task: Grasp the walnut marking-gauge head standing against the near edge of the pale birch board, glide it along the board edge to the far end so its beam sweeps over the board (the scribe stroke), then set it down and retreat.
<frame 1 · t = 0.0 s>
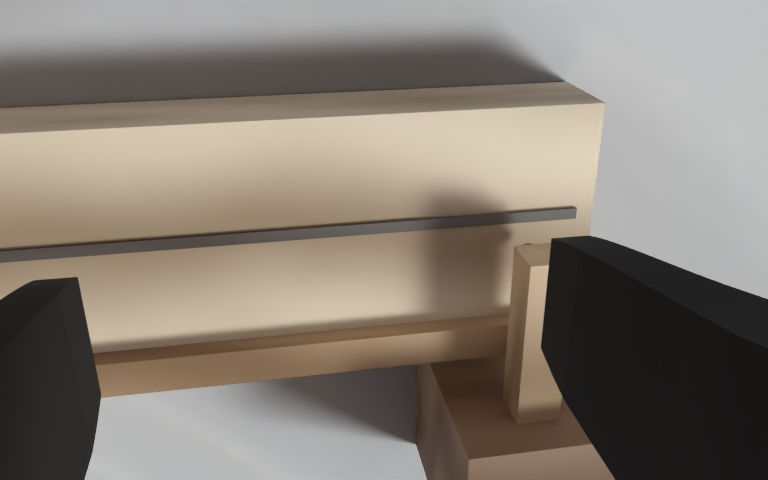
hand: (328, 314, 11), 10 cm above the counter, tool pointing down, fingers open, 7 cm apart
gauge: (481, 384, 25), on the counter
board: (188, 221, 21), on the counter
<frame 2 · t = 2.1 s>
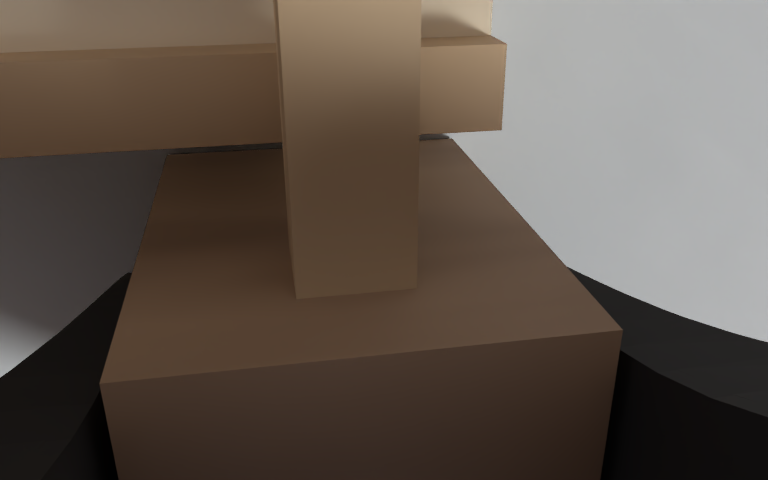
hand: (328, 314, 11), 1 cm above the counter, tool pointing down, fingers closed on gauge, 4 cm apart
gauge: (319, 273, 13), on the counter, touching gripper
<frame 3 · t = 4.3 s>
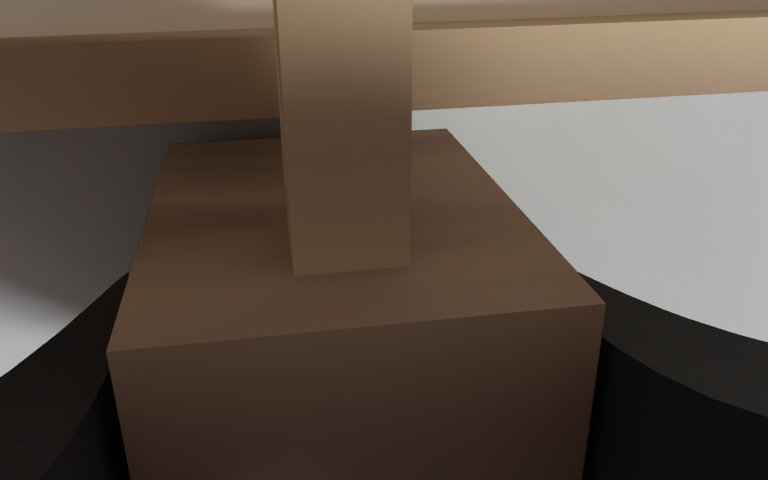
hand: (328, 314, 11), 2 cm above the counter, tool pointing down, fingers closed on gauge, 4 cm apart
gauge: (317, 260, 13), point 1 cm above the counter, touching gripper
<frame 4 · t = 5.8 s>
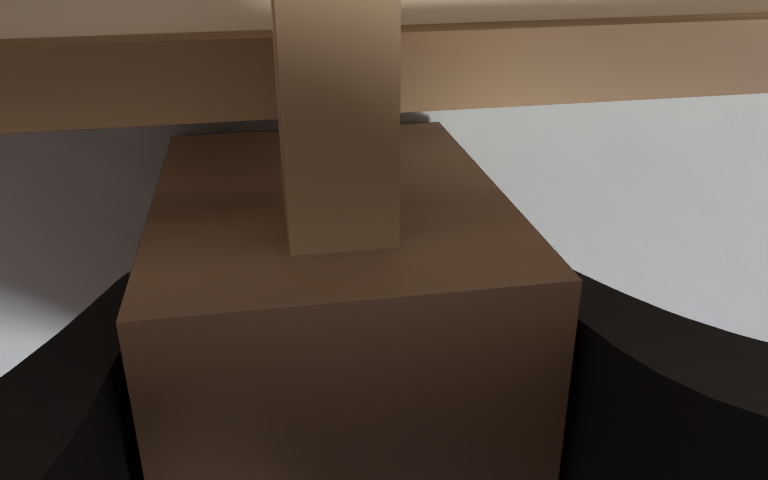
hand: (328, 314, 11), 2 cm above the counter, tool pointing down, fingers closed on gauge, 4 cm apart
gauge: (315, 249, 13), on the counter, touching gripper
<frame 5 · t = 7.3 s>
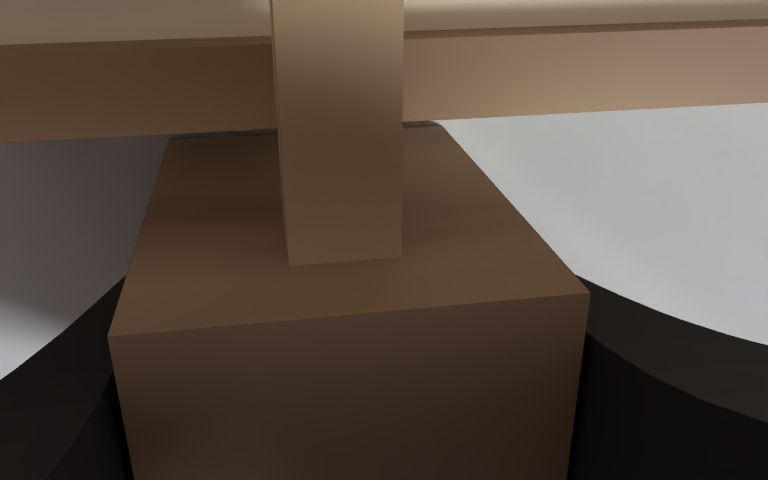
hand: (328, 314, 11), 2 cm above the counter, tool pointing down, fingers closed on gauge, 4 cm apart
gauge: (314, 254, 13), on the counter, touching gripper
when the fingers open (2 cm above the counter, at t = 7.6 s): gauge stays where it is, on the counter.
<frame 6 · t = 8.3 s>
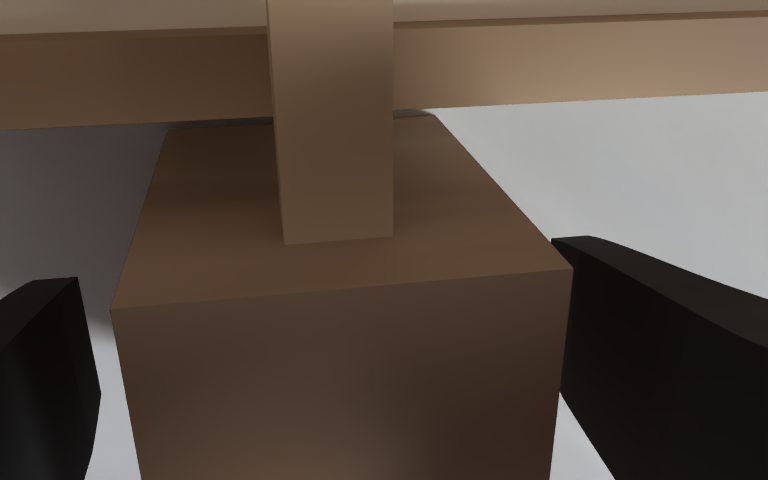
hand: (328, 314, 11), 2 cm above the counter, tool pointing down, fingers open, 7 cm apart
gauge: (311, 241, 13), on the counter
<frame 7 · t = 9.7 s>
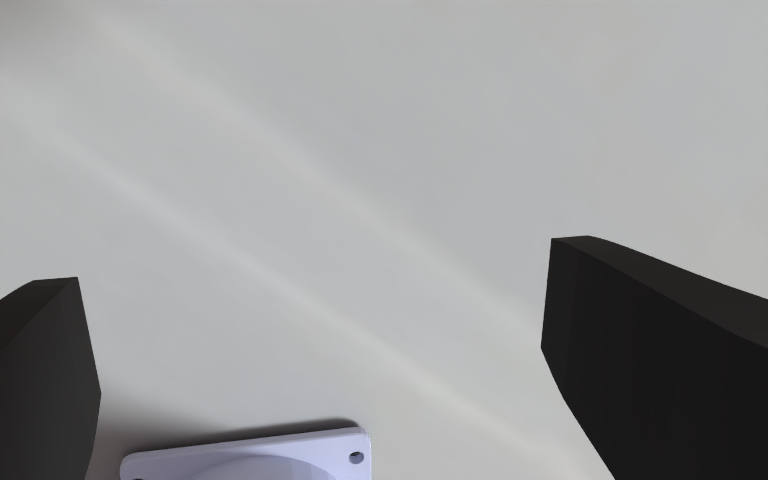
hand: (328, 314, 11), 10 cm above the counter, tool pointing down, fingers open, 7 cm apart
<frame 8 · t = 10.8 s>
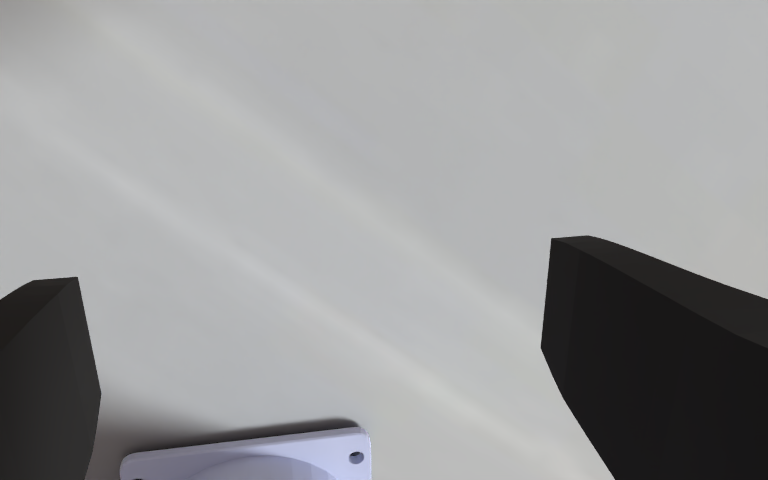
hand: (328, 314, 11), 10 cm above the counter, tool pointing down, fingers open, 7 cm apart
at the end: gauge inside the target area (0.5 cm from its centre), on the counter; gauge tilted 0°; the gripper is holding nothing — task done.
